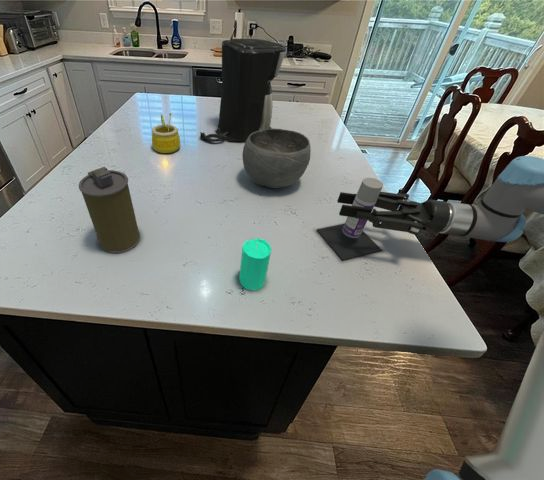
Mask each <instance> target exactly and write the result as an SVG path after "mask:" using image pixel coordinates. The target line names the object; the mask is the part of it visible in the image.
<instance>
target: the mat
mask: <svg viewBox="0 0 544 480" xmlns="http://www.w3.org/2000/svg"><path fill="white" fill-rule="evenodd" d="M344 224H345V222H344V223H339V224H335V225H331V226H325V227H321V228H317V229H316V232H317V233H318V234H319V236H320V237H321V238H322V239H323V240H324V241H325V243H326V244H327V245H328V246H329V247H330V249H331V250H332V251H333V252H334V254H336V255H337V257H338V258H339V259H340V261H342V262H344V261H348V260H352V259H356V258H359V257H363V256H367V255H371V254H375V253H379V252H382V251H383V250H382V248H381V247H380V246H379V245H378V244H377V243H376V241H374V240H373V239H372V238H370V236H369V235H368V234H367V233H366V232H364V230H363V231H362V233H361V235H360V237H358V238H351V237H348V236H346V235H345V234H344V233H343V231H342V229H343V227H344Z"/></svg>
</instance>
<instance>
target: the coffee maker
mask: <svg viewBox="0 0 544 480" xmlns="http://www.w3.org/2000/svg"><path fill="white" fill-rule="evenodd" d="M286 51H287V48H286V46H285V45H283V44H281V43H278V42H274V41H271V40H265V39H258V38H230V39H226V40H222V42H221V92H220V103H219V104H220V105H219V114H218V124H217V127H216V129H215V132H216V133H209V134H207V135H206V134H205V132H201V131H200V132H199V133H200V136H199V138H200V140H204V141H207V142H210V143H211V142H212V143H217V142H222V141H227V142H231V143H232V142H233V143H235V142H237V143H238V142H240V143H245V142H246V140H247V138H248V137H249V135H250V134H251V133H253V132H256V131H259V130H264V129H273V127H272V126H271V125H272V124H271V123H272V117H273V89H272V83H271V82H272V81H273V80H274V79H275V78H277V77H278V75H279V73H280V70H281V67H282V64H283V61H284V58H285V54H286ZM211 137H215V138H211Z"/></svg>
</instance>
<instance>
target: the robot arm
mask: <svg viewBox="0 0 544 480" xmlns="http://www.w3.org/2000/svg"><path fill="white" fill-rule="evenodd" d="M356 195H357V193H350V192H344V191H340V192H339V195H338V197H337V200H336V201H337V203H338V204H342V205H341V207H340V209H339V214H338V215H339V217H346V218H347V217H354V218H357V219H364V220H368V221H367V222H369V223H372V227H373V228H375V229H382V230H388V231H395V232H402V233H408V234H411V235H414V236H419V234H420V233H421V231H422V232H428V233H434V234H438V233H439V234H443V235H450V236H456V237H457V236H458V237H464V238H470V239H476V240H483V241H486V242H499V243H510V242H513V241H516V240H517V239H519V238H520V237H521V236H522V235H523V233H524V229H525V228H526V226H527V219H526V216H525V215H524V212H526V211H530V212H534V213H536V214H540V215H543V216H544V158H542V157H538V156H533V155H521V156H517V157H515V158H513V159H512V160H511V161H510V162H509V163H508V164H507V165H506V166H505V168H504V169H503V170H502V172H501V173H499V174H498V175H497V178H496V179H495V180H494V182H493V183H492V185H491V186H490V188H489V189H488V191H487V192H486V193H485V195H484V196H483V197H482V198H481V200H479V202H478V203H477V204H468V203H459V202H452V201H445V200H436V199H427V200H425V201H423V202H417V201H414V200H411V199H410V198H409V197H410V194H409V193H395V192H387V191H381V192H380V194H379V196H378V199H377V201H376V203H375V206H374V208H373V210H371V208H364V207H357V206H352V204H353V202H354V199H355V197H356ZM376 208H377V209H382V210H377V209H376ZM371 211H372V212H371ZM524 373H525V374H524V376H523V378H522V381H521V384H520V385H519V387H518V392H516V396H515V398H514V400H513V403H512V405H511V408H510V410H509V413H508V416H507V418H506V421H505V423H504V426H503V427H502V431H501V433H500V435H499V438H498V440H497V443H496V446H495V448H494V450H493V451H490V452H488V453H480V454H472V455H465V457H464V459H463V462H462V464H461V466H460V469H459V471H458V473H457V475H456V474H454V473H453V472H451V471H448V470H442V469H439V468H435V469H432V470H430V471H428V472H427V473H426V477H425V478H423V479H422V480H544V328H543V329H542V332H541V334H540V335H539V339H538V341H537V344H536V346H535V349H534V351H533V353H532V356H531V359H530V362H529V363H528V366H527V368H526V371H525V372H524Z"/></svg>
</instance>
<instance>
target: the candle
mask: <svg viewBox="0 0 544 480" xmlns="http://www.w3.org/2000/svg"><path fill="white" fill-rule="evenodd" d="M271 254H272V247H271V244H270V243H269V242H268V241H266V239H263V238H258V237H257V238H252V239H249V240H246V241H245V240H244V243H243V244H242V248H241V257H240V266H239V267H240V268H239V277H238V279H239V284H240V285H241V286H242V287H243V288H244V289H247V290H248V291H258V290H260V289H262V288H263V287H264V285H265V283H266V279H267V274H268V269H269V263H270V259H271Z"/></svg>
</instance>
